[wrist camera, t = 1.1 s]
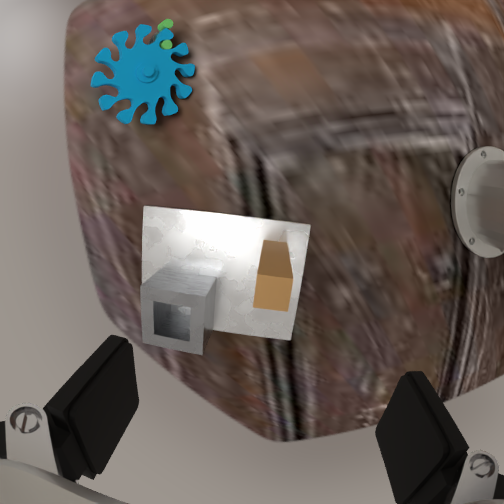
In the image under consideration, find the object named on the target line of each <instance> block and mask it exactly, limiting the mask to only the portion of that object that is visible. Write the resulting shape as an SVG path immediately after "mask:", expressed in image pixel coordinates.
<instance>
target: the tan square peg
mask: <svg viewBox="0 0 504 504" xmlns="http://www.w3.org/2000/svg"><path fill="white" fill-rule="evenodd" d="M292 285H293V273H292V267H291V261H290V255H289V249H288V244H287V243H285V242H278V241H270V240H263V245H262V250H261V256H260V261H259V266H258V271H257V278H256V286H255V294H254V302H253V308H261V309H268V310H276V311H285V312H288V308H289V303H290V297H291V291H292Z"/></svg>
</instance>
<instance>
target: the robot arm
mask: <svg viewBox="0 0 504 504" xmlns="http://www.w3.org/2000/svg"><path fill="white" fill-rule="evenodd" d="M451 210H452V218H453V222H454V226H455V229H456V231H457V234H458V236H459V238H460V240H461V241H462V243H463V244H464V245H465V246H466V248H467V249H468V250H470V251H471V252H473V253H474V254H476V255H479V256H481V257H485V258H493V257H497V256H499V255H501V254H503V253H504V151H503V150H501V149H499V148H496V147H492V146H485V147H478V148H476V149H474V150H472V151H471V152H470V153H468V154H467V155H466V156H465V157H464V159H463V160H462V161H461V163H460V165H459V167H458V169H457V171H456V174H455V177H454V180H453V185H452V191H451ZM138 404H139V397H138V390H137V382H136V374H135V365H134V356H133V347H132V344H130V343H129V342H128V340H127V339H126V338H123V337H119V336H116V335H110V336H109V337H108V338H107V339H106V340H105V341H104V342H103V343H102V344H101V345H100V347H99V348H98V349H97V350H96V351H95V352H94V353H93V354H92V355H91V356H90V357H89V358H88V359H87V360H86V361H85V363H84V364H83V365H82V366H80V368H79V369H78V370H77V371H76V372H75V373H74V374H73V375H72V376H71V378H69V380H68V381H67V382H66V383H65V384H64V385H63V386H62V387H61V388H60V389H59V391H58V392H57V393H56V394H55V395H54V396H53V397H52V399H51V400H50V401H49V402H48V403H47V404H46V405H45V407H44V408H43V409H42V408H41V407H39V406H37V405H34V404H31V403H22V404H18V405H16V406H14V407H13V408H11V410H9V412H8V414H7V415H6V420H5V421H2V422H0V504H128V503H125V502H122V501H119V500H116V499H114V498H111V497H108V496H105V495H103V494H101V493H98V492H96V491H93V490H91V489H88V488H86V487H83V486H82V485H79V482H78V480H79V479H80V477H81V475H84V476H86V477H88V478H90V479H93V480H94V478H95V476H96V474H101V473H102V472H103V470H104V469H105V467H106V465H107V463H108V461H109V459H110V457H111V455H112V454H113V452H114V450H115V448H116V446H117V444H118V443H119V441H120V439H121V437H122V435H123V434H124V432H125V430H126V428H127V426H128V424H129V423H130V421H131V419H132V417H133V415H134V414H135V412H136V410H137V408H138ZM375 433H376V438H377V441H378V444H379V448H380V451H381V454H382V457H383V460H384V463H385V467H386V470H387V474H388V477H389V480H390V484H391V487H392V491H393V495H394V498H395V501H396V503H397V504H504V475H501V474H499V473H498V471H499V466H498V463H497V461H496V459H495V457H494V456H492V455H491V454H490V453H488V452H486V451H482V450H478V451H474V452H471V453H470V454H469V455H468V454H467V452H466V451H467V450H468V449H469V446H468V444H467V443H466V441H465V439H464V437H463V436H462V434H461V432H460V431H459V429H458V427H457V425H456V424H455V422H454V420H453V419H452V417H451V415H450V414H449V412H448V410H447V409H446V408H445V406H444V404H443V402H442V401H441V399H440V398H439V396H438V394H437V393H436V391H435V390H434V388H433V387H432V385H431V383H430V382H429V380H428V379H427V377H426V376H425V374H424V373H423V372H421V371H410V372H407V373H406V374H405V375H404V376H402V377H401V378H400V380H399V382H398V384H397V387H396V389H395V391H394V393H393V395H392V397H391V399H390V401H389V404H388V406H387V408H386V410H385V412H384V414H383V415H382V417H381V419H380V421H379V423H378V425H377V427H376V432H375Z"/></svg>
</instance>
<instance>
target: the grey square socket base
mask: <svg viewBox="0 0 504 504" xmlns="http://www.w3.org/2000/svg"><path fill="white" fill-rule="evenodd" d="M310 227H311V225H310V224H307V223H300V222H292V221H285V220H277V219H269V218H262V217H254V216H245V215H237V214H228V213H220V212H211V211H202V210H192V209H183V208H173V207H162V206H152V205H145V206H144V212H143V238H142V285H141V286H140V290H141V319H142V337H143V343H146V344H151V345H155V346H160V347H164V348H169V349H174V350H179V351H184V352H189V353H194V354H200V355H203V352H204V350H205V348H206V345H207V343H208V340H209V338H210V335H211V333H212V330H218V331H224V332H231V333H237V334H244V335H252V336H259V337H267V338H275V339H284V340H291V335H292V330H293V325H294V320H295V315H296V310H297V304H298V299H299V293H300V288H301V282H302V276H303V271H304V265H305V259H306V253H307V246H308V240H309V234H310ZM263 240H270V241H278V242H285V243H287V244H288V249H289V255H290V261H291V267H292V273H293V285H292V291H291V297H290V303H289V308H288V312H285V311H276V310H268V309H261V308H253V302H254V294H255V286H256V278H257V271H258V266H259V261H260V256H261V250H262V245H263Z"/></svg>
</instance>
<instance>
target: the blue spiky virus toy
mask: <svg viewBox="0 0 504 504" xmlns="http://www.w3.org/2000/svg"><path fill="white" fill-rule="evenodd" d="M172 26H173V21H172V20H170V19H166V20H164V21H163V22H161V23H160V24H159V25H158V30H159V32H157V33H155V34H154V35H153V36H152V37H151V39H150V41H149V42H148V44H147V45H146V44H144V43H143V37H145V36H147V35H148V34H149V33H150V32H151V30H152V28H151V27H150V26H148V25H143V24H140V25H139V26H138V27H137V28H136V30H135V33H136V42H135V44H134V46H133V48H132V49H128V48H126V47H125V42H126V40H127V38H128V33H127V31H122V32H118V33H116V34H114V36H113V37H112V42H113V43H114V44H115V45H116V46H117V47H118V50H119V55H120V59H119V61H117V62H115V61H113V60H112V59H111V52H110V50H109V49H108V48H103V49H102V50H101V51H100V52H99V53H98V55H97V56H96V57H95V61H96V62H98V63H102V64H105V65H107V66H108V67H110V69H111V70H112V71H113V73H114V78H113V79H107V78H106V77H105V75H104V74H103V73H102V72H95V73H94V75H93V77H92V80H91V87H94V88H96V87H99V86H103V85H109V86H112V87H115V88H117V89H118V91H119V93H118V96H117V97H112V96H110V95H104V96H102V97H101V98H100V99H99V105H100V107H101V109H102V110H107V109H109V108H110V107H111V106H112V105H113V104H114V103H115V102H117V101H119V100H124V99H128V100H130V101H131V107H130V108H129V109H127V110H123V111H120V112H119V113H118V114H117V119H118V120H119V121H120V122H122V123H124V124H128V123H130V122H131V120H132V118H133V114H134V112H135V110H136V109H137V107H138V106H139V105H141V104H142V103H146V104H147V105H148V110H147V112H146V113H144V114H143V115H142V116H141V118H140V122H141V123H142V124H147V125H150V124H155V123H156V120H157V118H156V115H155V107H156V103H157V101H158V99H159V98H160V97H161V98H163V99H164V106H163V108H162V113H163V115H164V116H167V115H172V114H174V113H176V112H178V107H177V105H176V104H175V103H174V102H173V100H172V99H171V95H170V87H171V85H173V86H175V88H176V94H177V96H178V98H180V99H184V98H186V97H188V96H189V94H190V93H191V92H192V88H191V87H190V86H188V85H185V84H183V83H181V82H180V81H179V80H178V79H177V77H176V76H175V70H176V69H177V70H179V71H180V73H181V74H182V76H184V77H190V76H193V74H194V71H195V65H193V64H185V65H184V64H179V63H176V62H174V61H173V60H172V59H171V54H174V55H176V56H179V57H182V56H184V55H186V54H188V53H189V51H188V47H187V45H186V43H181V44H179V45H177V46H176V47H175V48H173V49H170V48H171V47H172V42H171V41H170V39H172V38H173V36H174V35H173V33H172V32H171V31H170V30H168V29H169V28H171V27H172Z"/></svg>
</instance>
